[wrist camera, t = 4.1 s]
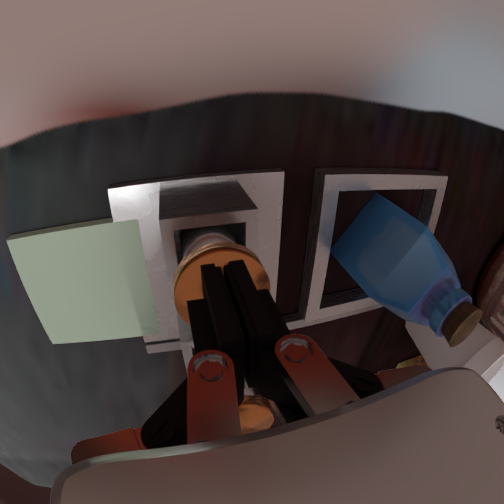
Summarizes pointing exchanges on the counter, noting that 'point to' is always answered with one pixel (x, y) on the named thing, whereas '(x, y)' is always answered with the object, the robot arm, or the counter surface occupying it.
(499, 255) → the pottery
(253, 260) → the plunger
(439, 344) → the foam cup
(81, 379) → the counter surface
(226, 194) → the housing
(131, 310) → the mat
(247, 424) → the plunger
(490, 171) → the counter surface
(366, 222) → the perfume bottle
